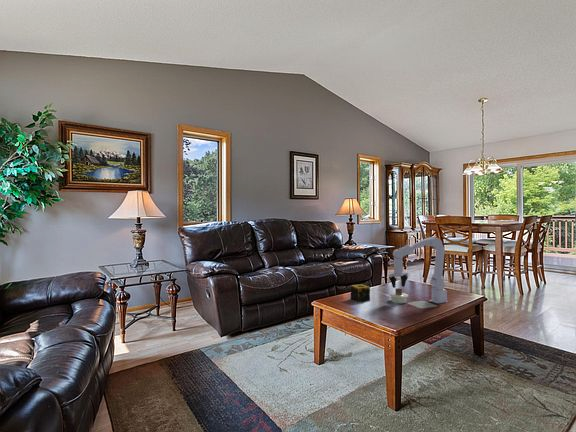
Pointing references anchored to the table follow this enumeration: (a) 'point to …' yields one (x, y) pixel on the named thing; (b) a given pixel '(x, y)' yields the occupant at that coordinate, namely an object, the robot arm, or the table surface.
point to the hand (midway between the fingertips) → (398, 286)
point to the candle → (360, 293)
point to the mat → (422, 304)
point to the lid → (398, 293)
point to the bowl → (398, 300)
